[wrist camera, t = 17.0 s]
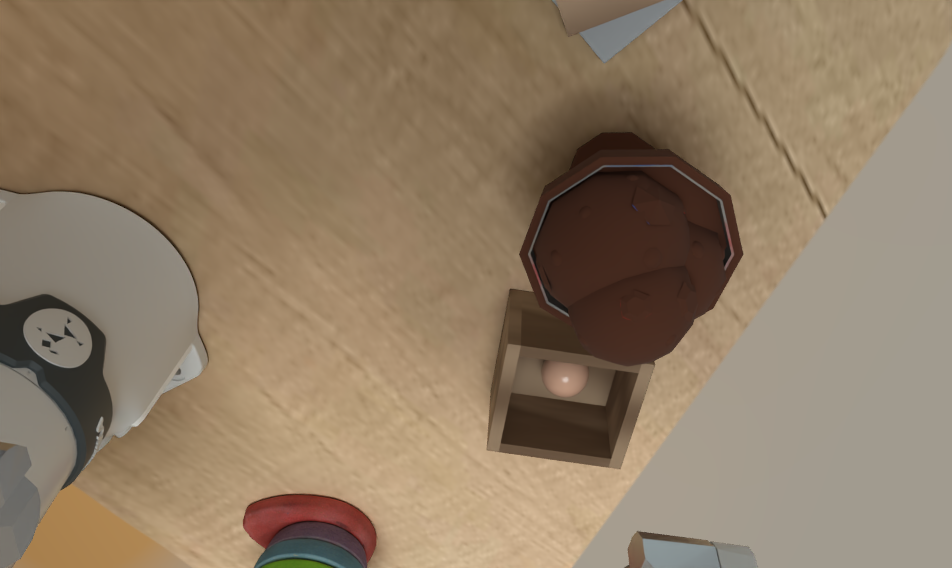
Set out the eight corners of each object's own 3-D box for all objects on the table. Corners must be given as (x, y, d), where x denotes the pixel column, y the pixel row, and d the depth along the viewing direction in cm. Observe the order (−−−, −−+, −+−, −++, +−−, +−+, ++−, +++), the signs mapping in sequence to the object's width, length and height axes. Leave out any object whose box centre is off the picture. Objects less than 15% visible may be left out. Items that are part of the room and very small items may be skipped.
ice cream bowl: (741, 188, 48) (814, 338, 36) (585, 279, 52) (602, 442, 40) (648, 48, 44) (694, 161, 31) (487, 159, 48) (471, 298, 35)
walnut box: (612, 408, 58) (620, 469, 53) (490, 390, 58) (486, 450, 53) (643, 308, 53) (655, 365, 48) (510, 288, 53) (507, 343, 48)
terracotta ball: (560, 383, 56) (562, 414, 53) (531, 356, 55) (531, 386, 52) (597, 361, 55) (600, 391, 52) (568, 332, 54) (569, 361, 51)
